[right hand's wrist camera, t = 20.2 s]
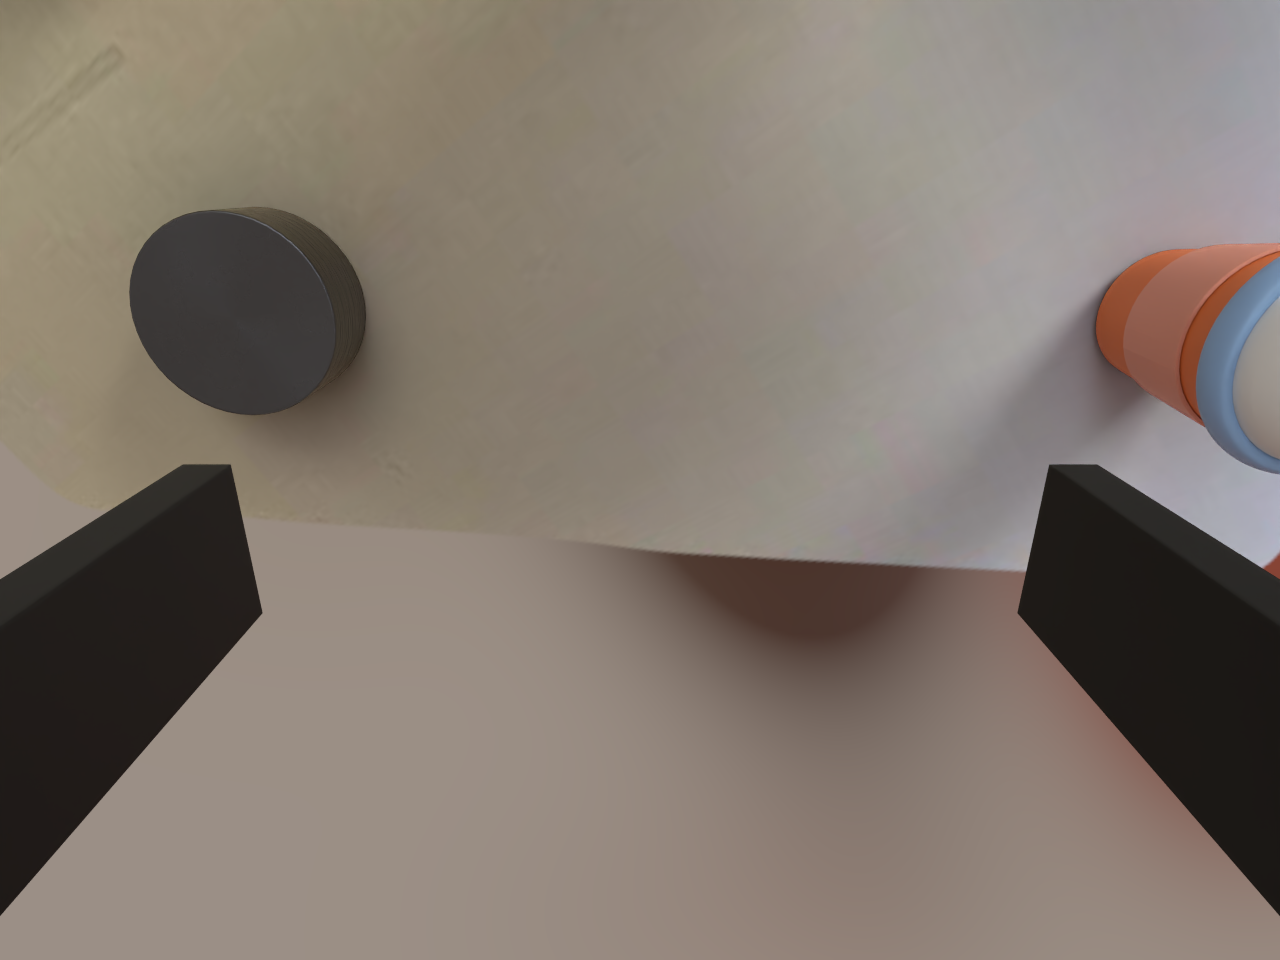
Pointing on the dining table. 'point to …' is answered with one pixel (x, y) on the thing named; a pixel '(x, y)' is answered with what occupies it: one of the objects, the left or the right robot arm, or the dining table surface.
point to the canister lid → (246, 307)
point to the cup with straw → (1204, 340)
